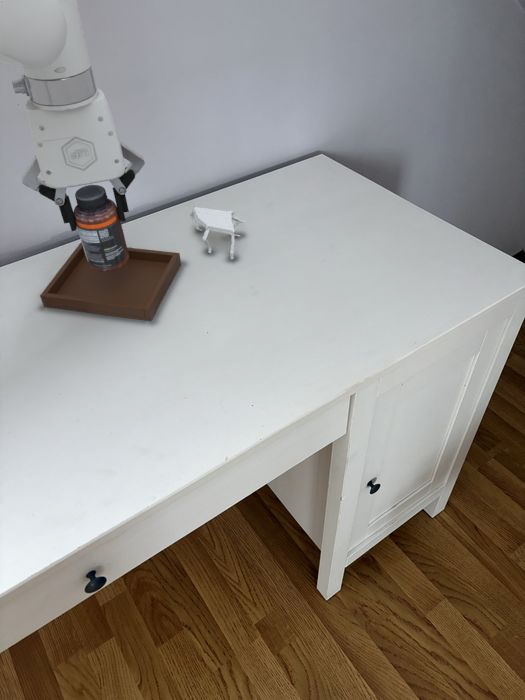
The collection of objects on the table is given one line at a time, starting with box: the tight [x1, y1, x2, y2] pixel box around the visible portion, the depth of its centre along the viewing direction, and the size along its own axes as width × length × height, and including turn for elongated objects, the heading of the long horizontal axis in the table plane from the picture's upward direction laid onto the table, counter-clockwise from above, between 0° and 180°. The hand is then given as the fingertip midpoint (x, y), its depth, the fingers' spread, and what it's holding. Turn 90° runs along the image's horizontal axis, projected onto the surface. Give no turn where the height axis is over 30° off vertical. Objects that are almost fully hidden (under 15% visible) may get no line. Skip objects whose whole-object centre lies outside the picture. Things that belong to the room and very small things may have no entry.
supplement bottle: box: [73, 184, 129, 272], centre depth 79 cm, size 6×6×11 cm
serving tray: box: [39, 241, 182, 322], centre depth 85 cm, size 17×14×2 cm
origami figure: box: [189, 206, 245, 260], centre depth 92 cm, size 12×8×5 cm
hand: (97, 220), depth 78 cm, fingers closed on supplement bottle, 6 cm apart
